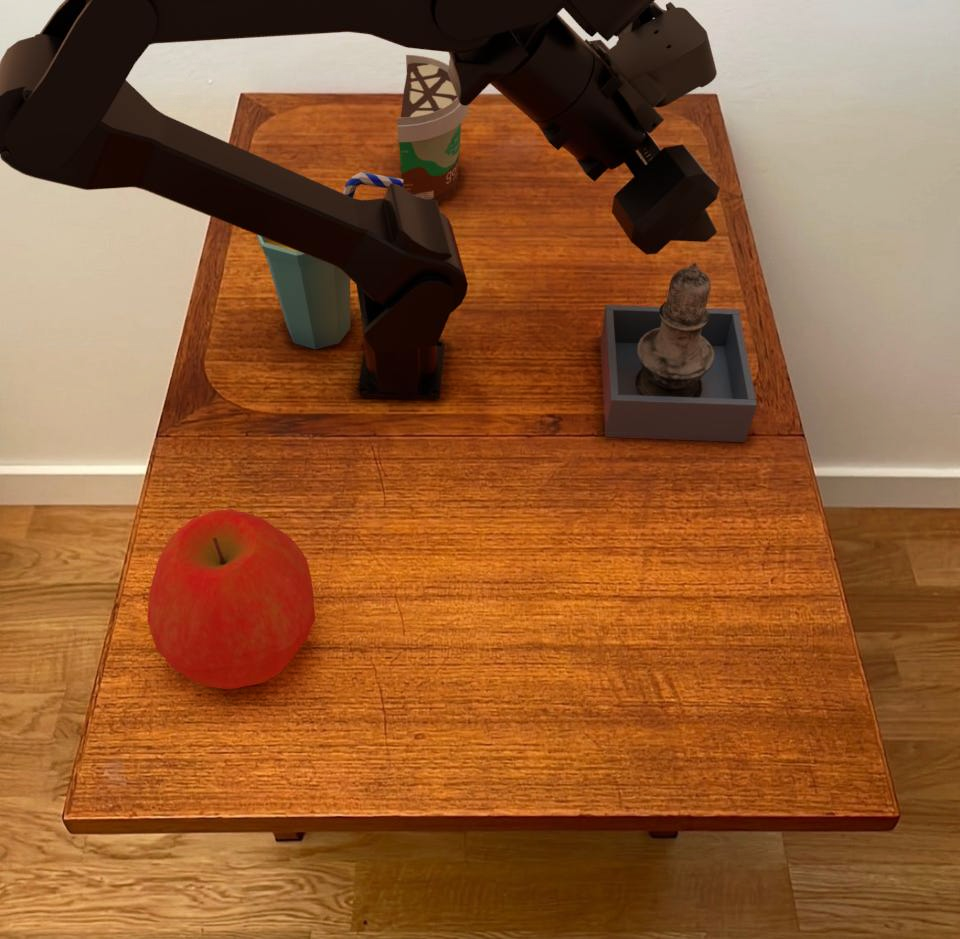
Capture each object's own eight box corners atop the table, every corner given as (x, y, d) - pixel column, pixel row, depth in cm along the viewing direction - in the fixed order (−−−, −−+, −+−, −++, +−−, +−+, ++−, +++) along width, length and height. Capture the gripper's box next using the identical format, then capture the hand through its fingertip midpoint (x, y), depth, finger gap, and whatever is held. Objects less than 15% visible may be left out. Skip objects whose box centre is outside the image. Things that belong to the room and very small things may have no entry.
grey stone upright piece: (701, 417, 77) (733, 296, 68) (626, 403, 78) (647, 282, 68) (709, 366, 80) (740, 245, 71) (637, 353, 81) (659, 232, 72)
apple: (350, 659, 64) (333, 565, 56) (198, 737, 60) (156, 649, 52) (283, 547, 69) (259, 448, 61) (140, 613, 66) (95, 516, 58)
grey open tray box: (745, 442, 76) (757, 405, 73) (605, 437, 76) (611, 399, 73) (728, 347, 83) (739, 309, 80) (600, 342, 83) (605, 304, 80)
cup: (414, 298, 86) (405, 143, 75) (410, 360, 81) (400, 204, 70) (253, 297, 86) (220, 142, 75) (239, 359, 81) (201, 203, 70)
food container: (467, 219, 94) (467, 122, 86) (402, 218, 94) (396, 121, 86) (471, 147, 102) (471, 52, 94) (411, 146, 102) (406, 51, 94)
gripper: (720, 55, 55) (837, 193, 66) (596, -80, 67) (713, 56, 77) (575, 198, 60) (706, 306, 70) (482, 49, 71) (607, 161, 82)
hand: (684, 199), depth 75 cm, fingers open, 9 cm apart
